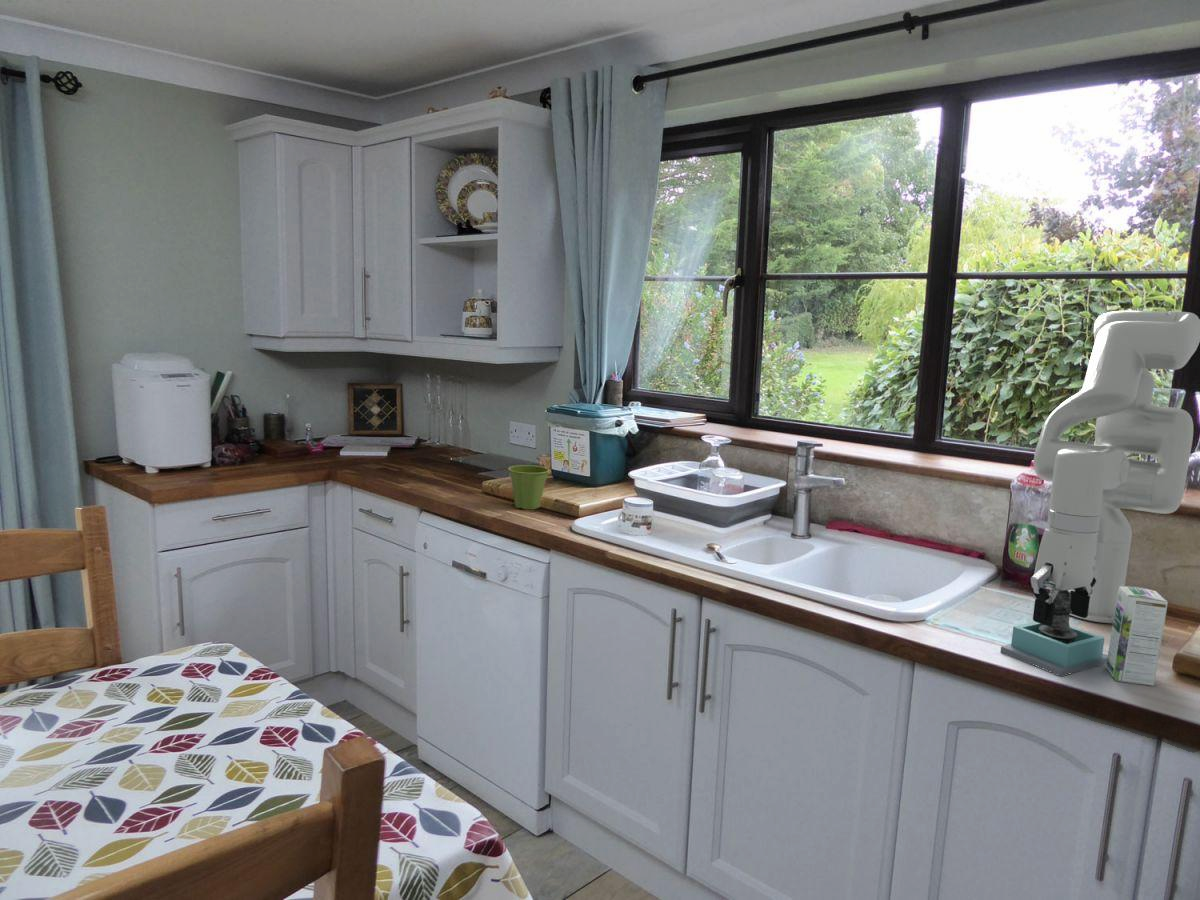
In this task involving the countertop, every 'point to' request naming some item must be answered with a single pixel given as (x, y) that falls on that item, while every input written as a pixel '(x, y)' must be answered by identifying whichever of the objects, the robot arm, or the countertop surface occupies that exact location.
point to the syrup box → (1136, 635)
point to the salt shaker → (1060, 620)
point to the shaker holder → (1056, 649)
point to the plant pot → (528, 485)
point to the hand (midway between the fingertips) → (1060, 619)
